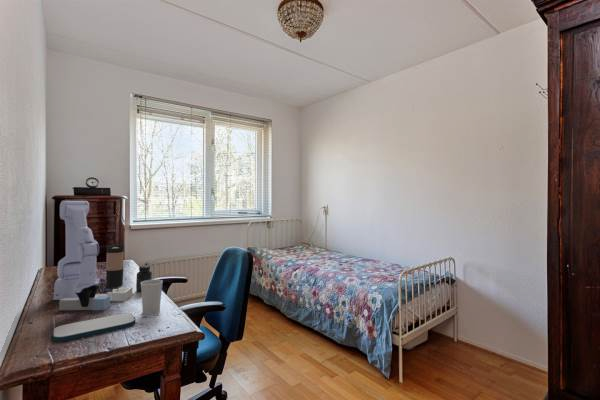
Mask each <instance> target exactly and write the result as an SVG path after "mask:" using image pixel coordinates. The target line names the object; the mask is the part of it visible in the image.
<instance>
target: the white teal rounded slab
mask: <svg viewBox="0 0 600 400" xmlns="http://www.w3.org/2000/svg"><path fill="white" fill-rule="evenodd" d="M135 324H136V318H135V316H134V315H133V314H132V313H130V312H128V313H127V312H126V313H125V312H124V313H119V314H113V315H107V316H104V317H98V318H92V319H87V320H81V321H77V322H71V323H66V324H61V325H59V326H56V327H55V328H53V329H52V330H53V331H52V341H53V342H55V343H60V342H61V343H62V342H67V341H72V340H77V339H81V338H82V339H83V338H87V337H90V336H95V335H96V336H97V335H100V334H103V333H104V334H105V333H110V332H114V331H119V330H124V329H128V328H131V327H133V326H134V325H135Z"/></svg>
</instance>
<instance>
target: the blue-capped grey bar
mask: <svg viewBox="0 0 600 400" xmlns="http://www.w3.org/2000/svg"><path fill="white" fill-rule="evenodd" d="M58 304H59V308H58V310H59V311H89V310H90V311H105V310H107V309H108V308H110V307H111V301H110V296H98V297H96V298H89V304H88V306H87V307H82V306H81V303H80V300H79V298H63V299H61V300H59V303H58Z"/></svg>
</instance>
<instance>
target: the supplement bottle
mask: <svg viewBox="0 0 600 400" xmlns="http://www.w3.org/2000/svg"><path fill="white" fill-rule="evenodd" d="M138 267H139V269H138V272H137V273H136V280H135V281H136V284H135V290H136V291H135V292H137V293H141V282H143V281H146V280H153V273H152V271H151V266H150V265H140V266H138Z"/></svg>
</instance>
